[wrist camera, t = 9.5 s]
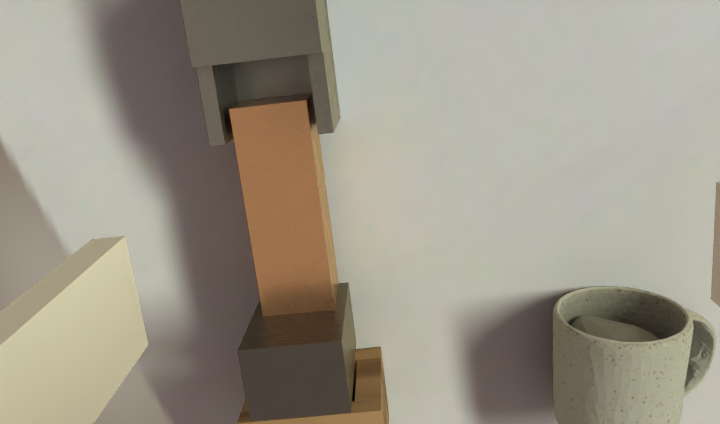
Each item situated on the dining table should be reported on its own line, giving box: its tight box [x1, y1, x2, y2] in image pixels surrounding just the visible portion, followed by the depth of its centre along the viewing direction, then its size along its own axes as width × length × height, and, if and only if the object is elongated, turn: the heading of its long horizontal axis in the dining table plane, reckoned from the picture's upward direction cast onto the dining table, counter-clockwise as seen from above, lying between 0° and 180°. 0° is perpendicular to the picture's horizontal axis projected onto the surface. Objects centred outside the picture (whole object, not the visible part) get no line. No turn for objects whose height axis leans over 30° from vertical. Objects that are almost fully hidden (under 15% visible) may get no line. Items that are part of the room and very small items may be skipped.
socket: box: [237, 347, 389, 424], centre depth 41 cm, size 5×8×8 cm, turn 97°
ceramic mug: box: [553, 286, 716, 424], centre depth 40 cm, size 11×8×8 cm
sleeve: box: [180, 0, 340, 146], centre depth 36 cm, size 11×6×7 cm, turn 7°
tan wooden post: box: [229, 94, 356, 422], centre depth 37 cm, size 20×5×8 cm, turn 7°
